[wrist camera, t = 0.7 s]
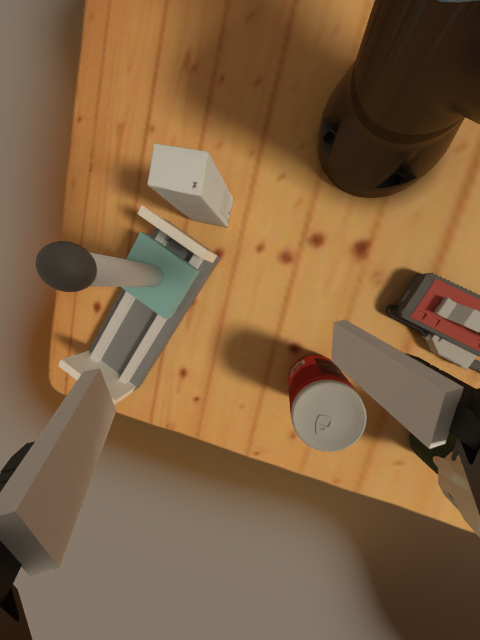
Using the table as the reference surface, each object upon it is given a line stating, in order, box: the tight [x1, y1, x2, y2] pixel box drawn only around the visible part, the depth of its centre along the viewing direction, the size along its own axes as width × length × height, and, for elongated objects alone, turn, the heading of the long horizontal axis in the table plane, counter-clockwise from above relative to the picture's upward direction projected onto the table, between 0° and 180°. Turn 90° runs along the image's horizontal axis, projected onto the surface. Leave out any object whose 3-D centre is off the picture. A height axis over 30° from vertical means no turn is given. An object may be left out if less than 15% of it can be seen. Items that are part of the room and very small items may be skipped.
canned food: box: [288, 355, 367, 452], centre depth 30 cm, size 8×8×11 cm
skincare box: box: [147, 143, 234, 228], centre depth 29 cm, size 6×4×12 cm
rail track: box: [58, 206, 221, 404], centre depth 35 cm, size 26×10×7 cm, turn 146°
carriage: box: [36, 232, 200, 319], centre depth 26 cm, size 8×9×17 cm
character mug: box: [410, 432, 480, 537], centre depth 27 cm, size 11×7×13 cm, turn 61°
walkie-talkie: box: [386, 273, 480, 372], centre depth 30 cm, size 9×4×20 cm
